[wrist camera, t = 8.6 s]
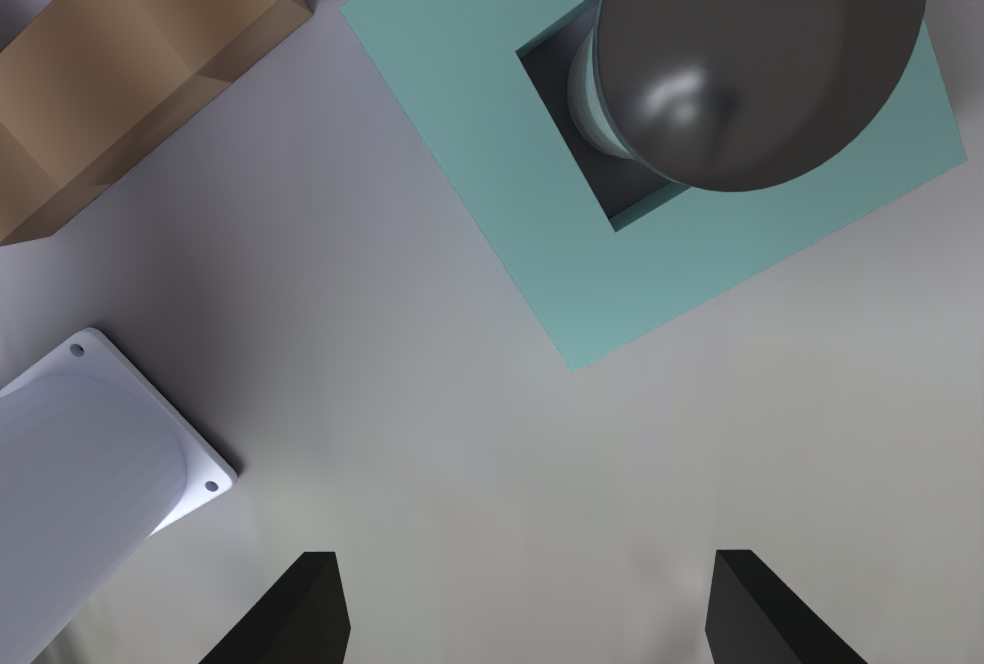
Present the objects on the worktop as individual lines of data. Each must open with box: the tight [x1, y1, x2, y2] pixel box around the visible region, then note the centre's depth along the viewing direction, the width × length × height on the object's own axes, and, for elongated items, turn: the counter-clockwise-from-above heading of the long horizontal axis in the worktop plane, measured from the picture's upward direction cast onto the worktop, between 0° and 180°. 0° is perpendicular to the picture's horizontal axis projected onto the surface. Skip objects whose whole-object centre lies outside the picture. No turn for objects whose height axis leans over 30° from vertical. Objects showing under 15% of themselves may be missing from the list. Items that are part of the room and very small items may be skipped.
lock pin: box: [567, 0, 926, 192], centre depth 11 cm, size 5×5×8 cm
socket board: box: [339, 0, 967, 373], centre depth 14 cm, size 12×12×2 cm
